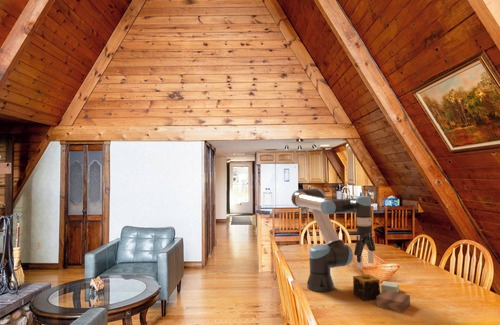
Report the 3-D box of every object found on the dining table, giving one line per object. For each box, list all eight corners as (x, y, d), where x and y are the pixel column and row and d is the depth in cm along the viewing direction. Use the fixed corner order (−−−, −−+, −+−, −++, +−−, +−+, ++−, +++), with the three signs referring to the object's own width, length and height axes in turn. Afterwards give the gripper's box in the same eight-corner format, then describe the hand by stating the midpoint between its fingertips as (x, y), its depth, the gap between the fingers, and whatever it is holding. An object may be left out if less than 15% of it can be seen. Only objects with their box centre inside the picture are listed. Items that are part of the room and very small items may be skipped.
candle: (363, 301, 169) (363, 281, 169) (352, 294, 178) (351, 276, 179) (380, 299, 171) (380, 279, 172) (369, 292, 181) (368, 274, 181)
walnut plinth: (376, 307, 162) (376, 296, 162) (385, 299, 171) (385, 290, 171) (402, 313, 154) (402, 302, 154) (410, 305, 163) (409, 295, 163)
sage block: (381, 292, 182) (381, 285, 182) (383, 288, 188) (383, 281, 189) (397, 294, 178) (396, 287, 178) (399, 290, 184) (398, 283, 185)
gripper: (360, 228, 165) (362, 272, 164) (380, 223, 183) (382, 262, 182) (346, 227, 170) (347, 269, 169) (367, 222, 188) (368, 259, 187)
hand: (365, 265), depth 175 cm, fingers open, 13 cm apart
